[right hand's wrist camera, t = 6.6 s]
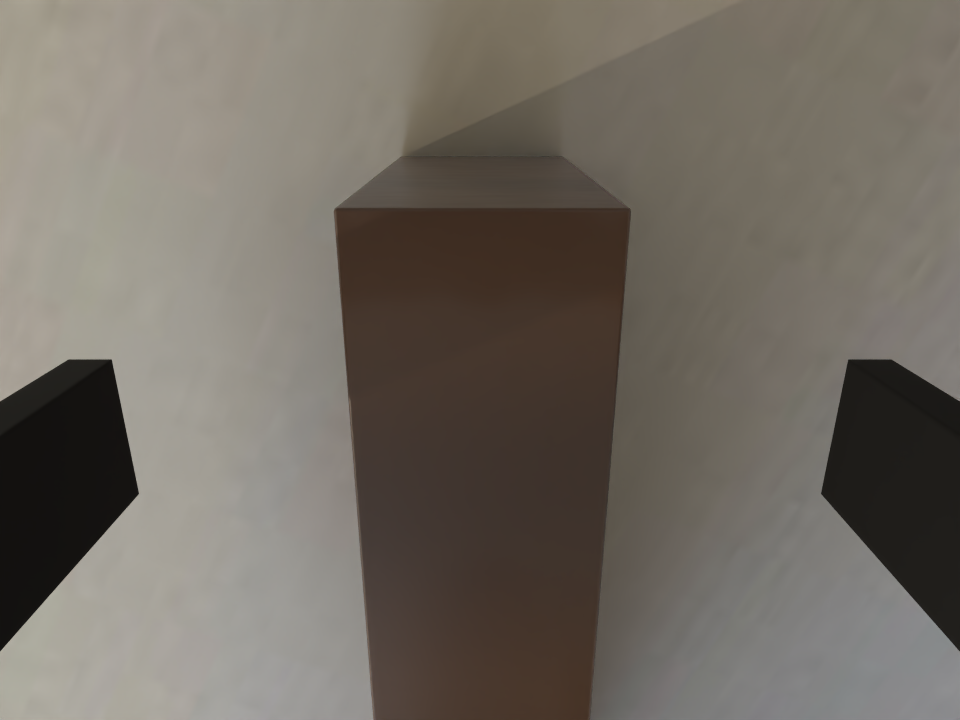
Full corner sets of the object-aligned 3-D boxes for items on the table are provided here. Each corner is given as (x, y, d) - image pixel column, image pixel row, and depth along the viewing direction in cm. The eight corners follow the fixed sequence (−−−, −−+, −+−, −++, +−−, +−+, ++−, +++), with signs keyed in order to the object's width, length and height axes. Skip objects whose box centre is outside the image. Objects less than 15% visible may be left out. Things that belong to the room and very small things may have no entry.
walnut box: (399, 156, 21) (332, 208, 11) (564, 156, 21) (632, 208, 11) (428, 854, 32) (407, 1161, 23) (533, 854, 32) (554, 1162, 23)
